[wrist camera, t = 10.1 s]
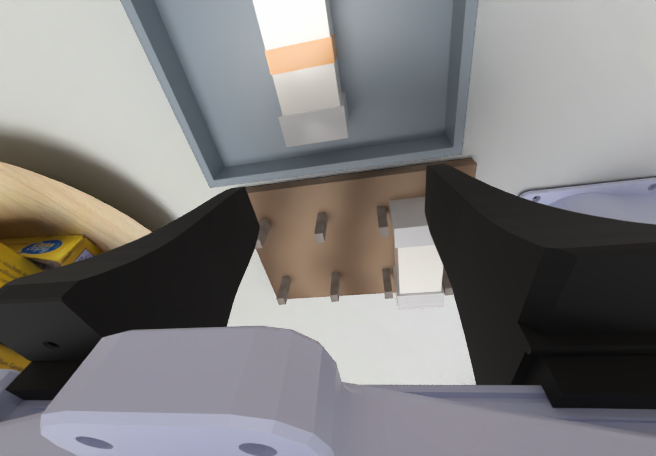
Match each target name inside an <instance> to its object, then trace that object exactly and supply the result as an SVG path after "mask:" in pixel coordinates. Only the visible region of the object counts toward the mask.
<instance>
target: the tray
mask: <svg viewBox="0 0 656 456" xmlns="http://www.w3.org/2000/svg"><path fill="white" fill-rule="evenodd" d="M120 1H121V3H122V5H123V7H124V9H125V11H126V14H127V16H128V18H129V20H130V22H131V24H132V26H133V28H134V30H135V32H136V34H137V37H138V39H139V41H140V43H141V45H142V47H143V49H144V51H145V53H146V55H147V57H148V60H149V62H150V64H151V66H152V68H153V70H154V72H155V74H156V76H157V78H158V80H159V83H160V85H161V87H162V89H163V91H164V93H165V95H166V97H167V99H168V101H169V103H170V106H171V108H172V110H173V112H174V114H175V116H176V118H177V120H178V122H179V124H180V126H181V129H182V131H183V133H184V135H185V137H186V139H187V141H188V143H189V145H190V147H191V149H192V152H193V154H194V156H195V158H196V160H197V162H198V164H199V166H200V168H201V170H202V172H203V175H204V177H205V179H206V181H207V183H208V185H209V187H210V188H213V187H221V186H228V185H236V184H243V183H251V182H258V181H266V180H273V179H281V178H288V177H296V176H303V175H311V174H318V173H326V172H333V171H341V170H348V169H356V168H363V167H371V166H378V165H386V164H393V163H401V162H408V161H416V160H423V159H431V158H438V157H446V156H453V155H461V154H462V147H463V138H464V128H465V119H466V110H467V100H468V91H469V82H470V72H471V63H472V53H473V44H474V35H475V25H476V16H477V7H478V0H329V2H330V10H331V17H332V24H333V31H334V34H335V39H336V46H337V53H338V56H337V61H338V68H339V75H340V83H341V90H342V92H346V100H347V108H348V116H349V131H348V138H345V139H338V140H332V141H325V142H318V143H312V144H305V145H299V146H292V147H286V144H285V140H284V137H283V133H282V129H281V126H280V122H279V118H278V117H279V116H280V114H281V113H282V111H281V107H280V103H279V99H278V96H277V92H276V88H275V84H274V80H273V77H272V75H271V74H270V70H269V66H268V63H267V59H266V55H265V51H266V50H265V46H264V42H263V38H262V35H261V31H260V27H259V23H258V19H257V16H256V12H255V8H254V4H253V0H120Z"/></svg>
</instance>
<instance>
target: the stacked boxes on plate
mask: <svg viewBox="0 0 656 456" xmlns="http://www.w3.org/2000/svg"><path fill="white" fill-rule="evenodd" d="M150 233H152V232H151V231H150V230H148V229H147V228H145V227H144V226H142V225H140V224H139V223H138V222H136V221H135V220H133V219H132V218H130V217H129V216H127V215H125V214H124V213H122V212H120V211H118V210H117V209H115V208H113V207H111V206H110V205H107V204H105V203H103V202H101V201H100V200H98V199H96V198H94V197H92V196H90V195H88V194H86V193H84V192H82V191H79V190H77V189H75V188H73V187H71V186H68V185H66V184H64V183H61V182H58V181H56V180H53V179H50V178H48V177H46V176H43V175H40V174H37V173H35V172H32V171H30V170H27V169H24V168H21V167H17V166H14V165H11V164H7V163H3V162H0V288H1V287H2V286H3V285H5V284H6V283H8V282H10V281H12V280H14V279H17V278H20V277H24V276H28V275H31V274H35V273H39V272H42V271H46V270H50V269H54V268H57V267H61V266H64V265H68V264H71V263H74V262H77V261H80V260H84V259H87V258H90V257H93V256H96V255H98V254H101V253H104V252H107V251H110V250H112V249H114V248H117V247H119V246H122V245H124V244H127V243H129V242H132V241H134V240H137V239H139V238H141V237H143V236H145V235H148V234H150ZM30 362H31V361H29V360H27V359H26V358H24V357H23V356H21V355H20V354H18V353H17V352H15V351H14V350H12V349H11V348H9V347H8V346H6V345H5V344H3V343H2V342H0V369H12V370H16V371H19V372H22V371H23V370H24V369H25V368H26V367H27V366H28V365H29V364H30Z"/></svg>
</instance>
